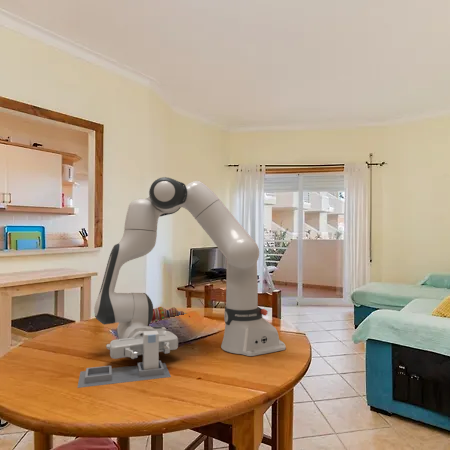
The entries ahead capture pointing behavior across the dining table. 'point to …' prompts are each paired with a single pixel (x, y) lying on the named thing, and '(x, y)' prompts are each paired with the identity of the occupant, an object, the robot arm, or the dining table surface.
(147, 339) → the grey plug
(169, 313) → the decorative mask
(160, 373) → the grey flat plate
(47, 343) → the dining table surface
